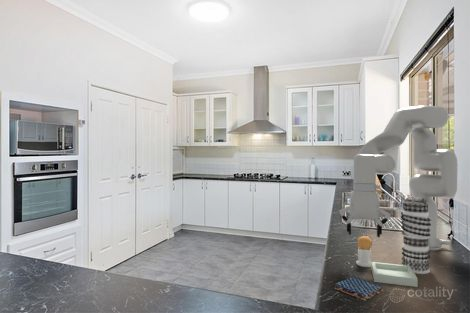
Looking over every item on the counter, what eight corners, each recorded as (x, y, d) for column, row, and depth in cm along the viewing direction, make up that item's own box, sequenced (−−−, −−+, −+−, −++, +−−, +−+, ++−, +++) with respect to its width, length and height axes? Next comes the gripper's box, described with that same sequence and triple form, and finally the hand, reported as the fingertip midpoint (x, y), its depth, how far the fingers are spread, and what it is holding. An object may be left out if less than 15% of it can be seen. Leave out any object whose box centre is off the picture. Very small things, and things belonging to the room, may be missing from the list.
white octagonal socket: (372, 263, 117) (372, 246, 117) (373, 268, 111) (373, 251, 111) (356, 261, 119) (356, 245, 119) (356, 266, 113) (356, 249, 113)
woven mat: (332, 290, 94) (332, 283, 94) (352, 281, 101) (352, 275, 101) (364, 303, 86) (365, 295, 86) (384, 293, 92) (384, 286, 92)
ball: (371, 248, 117) (371, 235, 117) (372, 252, 112) (372, 238, 112) (357, 247, 118) (357, 234, 118) (357, 251, 113) (357, 237, 113)
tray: (409, 273, 107) (409, 265, 107) (417, 287, 95) (417, 278, 95) (371, 268, 111) (371, 261, 111) (374, 281, 99) (374, 273, 99)
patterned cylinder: (394, 266, 113) (394, 196, 113) (413, 263, 116) (413, 195, 116) (417, 275, 104) (417, 200, 104) (437, 272, 108) (437, 198, 108)
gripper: (389, 188, 116) (388, 235, 115) (339, 186, 121) (339, 230, 121) (392, 190, 109) (391, 239, 108) (339, 187, 114) (338, 235, 114)
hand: (363, 235), depth 115 cm, fingers open, 9 cm apart
